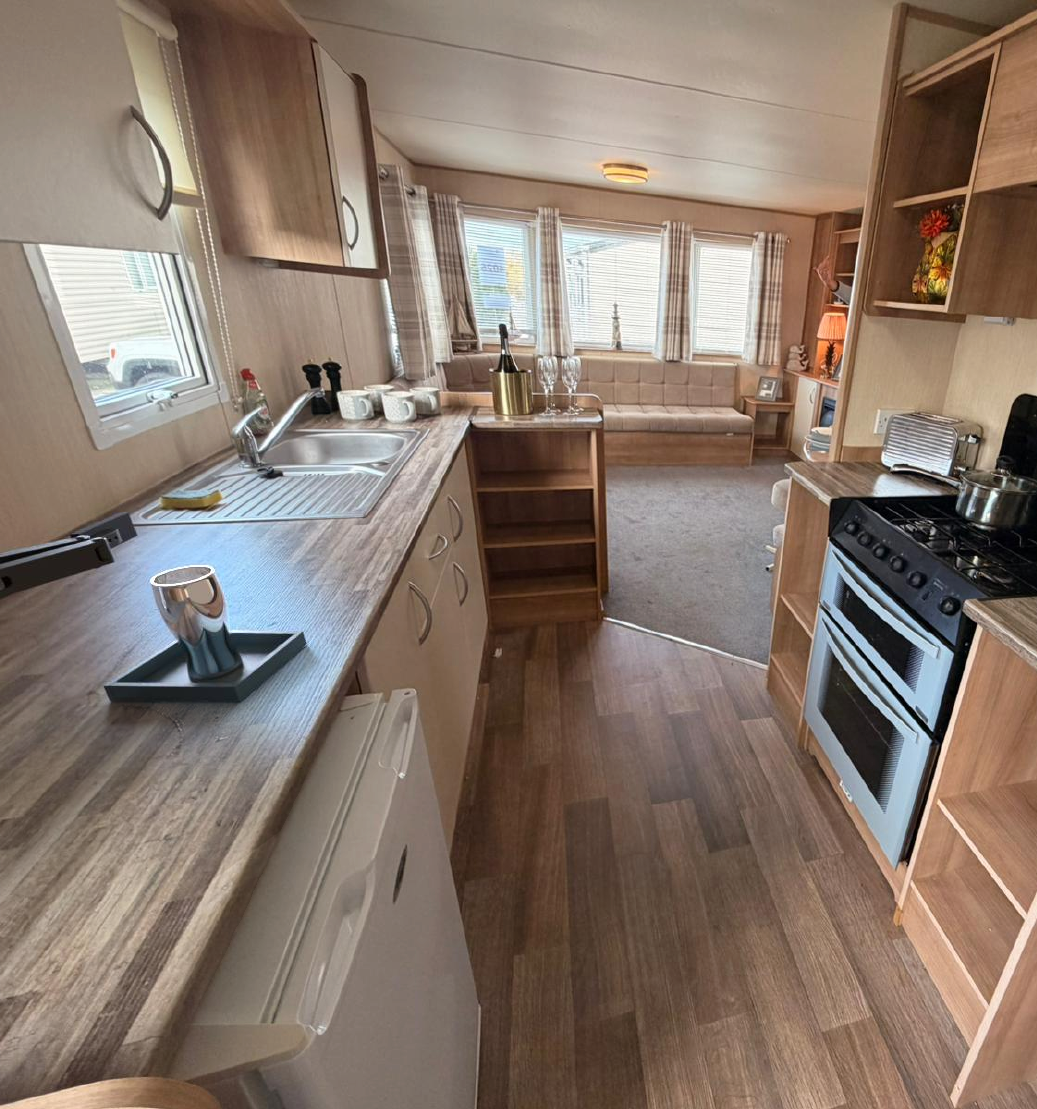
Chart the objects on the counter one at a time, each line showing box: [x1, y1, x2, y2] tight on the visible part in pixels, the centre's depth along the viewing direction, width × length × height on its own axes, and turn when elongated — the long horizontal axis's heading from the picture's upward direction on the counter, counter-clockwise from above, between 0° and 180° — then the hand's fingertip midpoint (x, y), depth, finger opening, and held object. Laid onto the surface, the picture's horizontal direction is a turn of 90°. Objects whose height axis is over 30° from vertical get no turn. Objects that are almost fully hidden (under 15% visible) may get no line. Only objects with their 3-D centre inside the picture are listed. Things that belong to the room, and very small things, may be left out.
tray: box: [103, 629, 308, 704], centre depth 85 cm, size 17×15×3 cm
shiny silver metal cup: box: [149, 565, 242, 680], centre depth 83 cm, size 7×7×15 cm
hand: (54, 525), depth 62 cm, fingers open, 13 cm apart
